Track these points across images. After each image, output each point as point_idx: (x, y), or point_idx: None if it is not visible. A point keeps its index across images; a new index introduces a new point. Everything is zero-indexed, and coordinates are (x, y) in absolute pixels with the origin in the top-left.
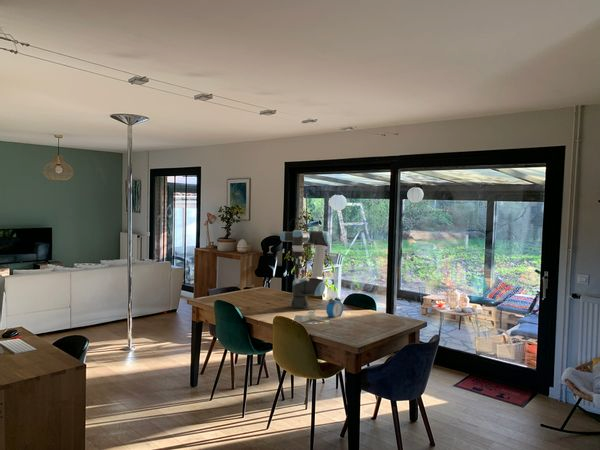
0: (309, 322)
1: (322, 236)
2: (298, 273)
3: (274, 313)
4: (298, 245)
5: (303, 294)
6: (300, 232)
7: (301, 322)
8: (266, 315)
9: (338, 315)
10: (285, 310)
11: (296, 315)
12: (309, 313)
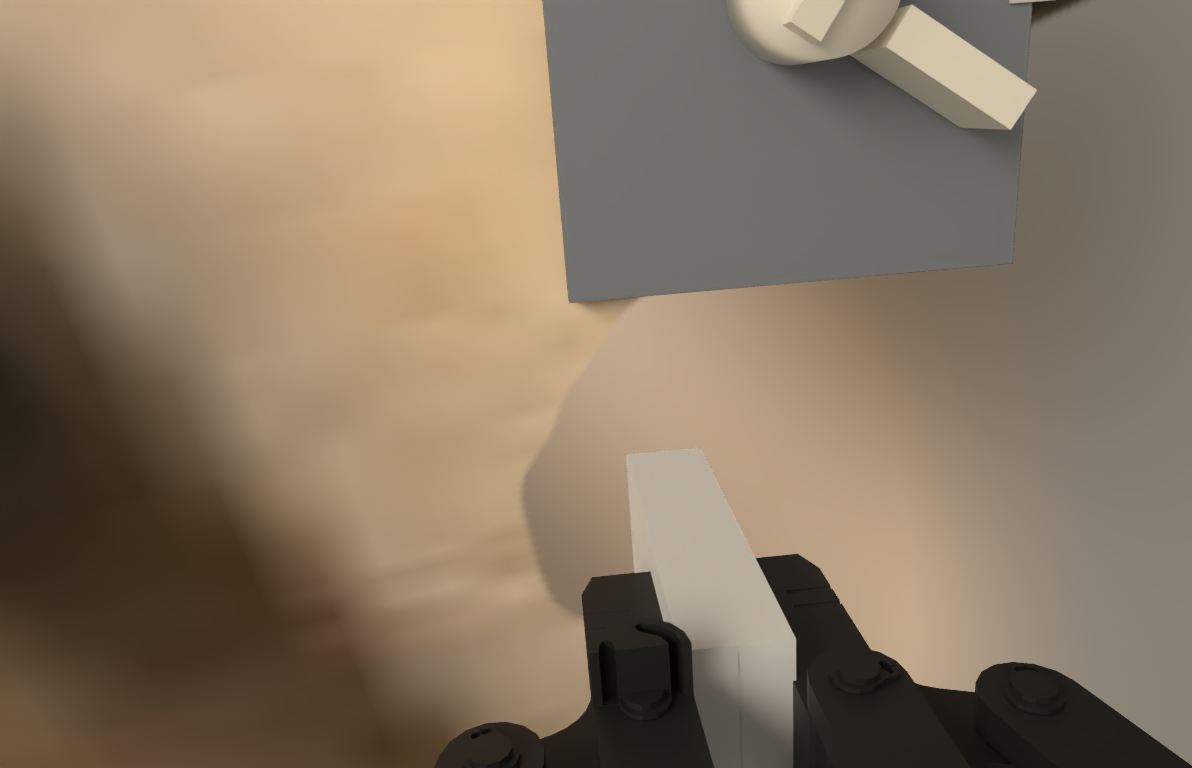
0: (979, 2)
1: None
2: (1033, 666)
3: (414, 621)
4: None
5: None
6: None
7: (990, 129)
8: (555, 681)
9: None
10: (174, 530)
11: (572, 288)
12: (893, 13)
